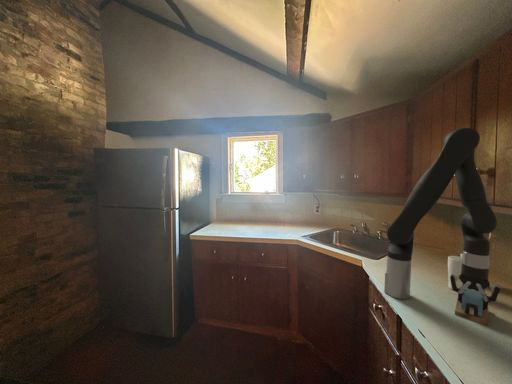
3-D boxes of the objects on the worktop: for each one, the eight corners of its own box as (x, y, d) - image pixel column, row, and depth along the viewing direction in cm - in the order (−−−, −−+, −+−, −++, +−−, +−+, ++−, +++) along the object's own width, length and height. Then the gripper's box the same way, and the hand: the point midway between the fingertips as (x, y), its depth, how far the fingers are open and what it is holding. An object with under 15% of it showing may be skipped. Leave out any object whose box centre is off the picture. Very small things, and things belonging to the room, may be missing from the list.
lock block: (463, 299, 91) (463, 287, 91) (482, 304, 87) (483, 292, 87) (461, 309, 84) (462, 297, 84) (482, 316, 80) (483, 303, 80)
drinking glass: (455, 285, 107) (457, 255, 105) (469, 292, 100) (472, 261, 99) (442, 285, 106) (444, 255, 105) (455, 293, 100) (457, 261, 98)
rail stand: (454, 314, 85) (455, 304, 85) (457, 301, 93) (458, 292, 93) (488, 325, 78) (489, 315, 78) (488, 311, 87) (489, 301, 86)
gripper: (502, 266, 82) (498, 309, 83) (451, 256, 92) (448, 294, 93) (503, 273, 76) (499, 318, 78) (449, 261, 87) (446, 302, 88)
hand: (472, 305), depth 86 cm, fingers closed on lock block, 5 cm apart
